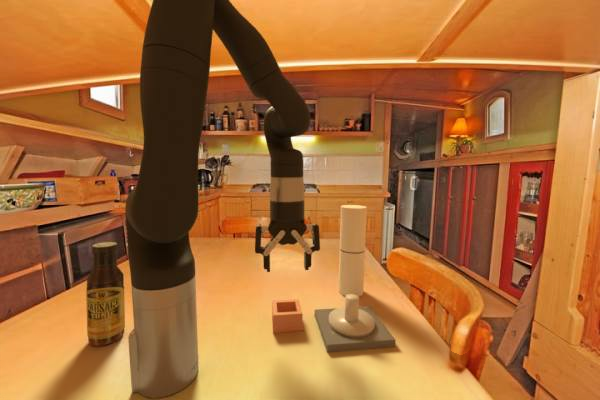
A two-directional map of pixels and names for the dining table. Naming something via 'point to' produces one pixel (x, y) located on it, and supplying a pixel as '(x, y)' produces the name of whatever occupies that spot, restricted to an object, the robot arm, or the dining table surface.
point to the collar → (286, 316)
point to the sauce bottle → (105, 296)
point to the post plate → (352, 327)
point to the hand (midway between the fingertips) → (287, 269)
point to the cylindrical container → (352, 249)
